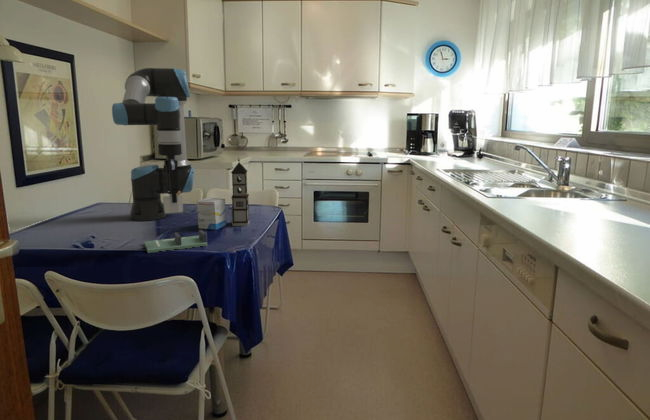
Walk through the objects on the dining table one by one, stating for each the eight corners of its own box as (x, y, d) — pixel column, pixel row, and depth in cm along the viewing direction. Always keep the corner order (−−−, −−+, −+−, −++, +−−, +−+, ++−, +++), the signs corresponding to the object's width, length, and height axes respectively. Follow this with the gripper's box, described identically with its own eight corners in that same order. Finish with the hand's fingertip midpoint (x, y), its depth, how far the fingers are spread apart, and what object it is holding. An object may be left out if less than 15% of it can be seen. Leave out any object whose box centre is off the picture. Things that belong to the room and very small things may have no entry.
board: (144, 244, 165) (143, 233, 164) (200, 237, 174) (200, 227, 173) (147, 253, 154) (147, 241, 153) (207, 245, 163) (207, 235, 162)
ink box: (227, 225, 193) (225, 198, 190) (216, 230, 185) (214, 201, 182) (209, 223, 195) (208, 196, 193) (197, 228, 188) (196, 200, 185)
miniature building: (248, 225, 192) (246, 154, 186) (231, 226, 192) (228, 154, 185) (249, 221, 199) (247, 152, 193) (233, 222, 199) (230, 152, 192)
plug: (164, 211, 161) (162, 191, 160) (181, 209, 164) (180, 190, 162) (165, 213, 158) (163, 193, 156) (183, 212, 160) (182, 192, 159)
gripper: (155, 142, 162) (160, 206, 167) (160, 145, 147) (165, 216, 152) (177, 141, 165) (181, 205, 170) (184, 144, 150) (188, 214, 155)
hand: (174, 210), depth 161 cm, fingers closed on plug, 4 cm apart
